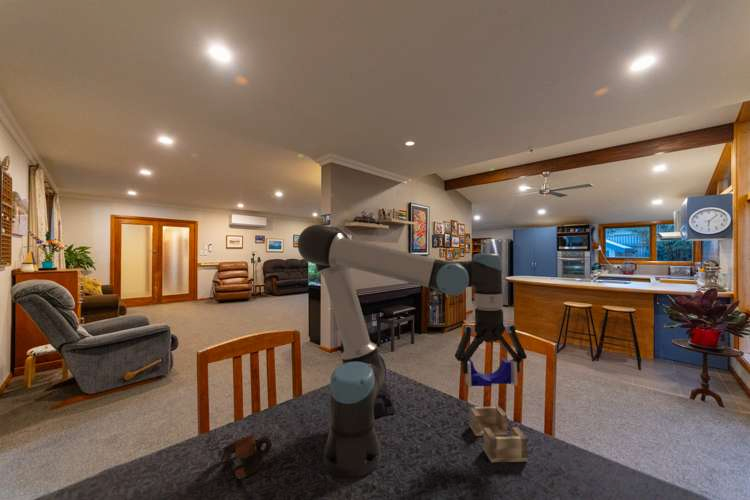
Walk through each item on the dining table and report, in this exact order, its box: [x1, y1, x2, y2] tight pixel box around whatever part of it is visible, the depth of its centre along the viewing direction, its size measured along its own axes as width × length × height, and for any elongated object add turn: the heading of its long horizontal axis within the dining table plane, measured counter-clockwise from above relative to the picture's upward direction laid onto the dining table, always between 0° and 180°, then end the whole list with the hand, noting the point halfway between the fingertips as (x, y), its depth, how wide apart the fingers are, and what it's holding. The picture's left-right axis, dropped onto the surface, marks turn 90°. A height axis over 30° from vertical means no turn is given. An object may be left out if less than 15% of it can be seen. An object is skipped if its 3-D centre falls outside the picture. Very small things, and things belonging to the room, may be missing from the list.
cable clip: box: [469, 358, 512, 387], centre depth 86 cm, size 12×4×6 cm, turn 86°
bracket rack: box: [469, 406, 528, 463], centre depth 85 cm, size 10×16×6 cm, turn 2°
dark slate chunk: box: [374, 382, 396, 418], centre depth 109 cm, size 15×22×5 cm
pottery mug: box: [220, 433, 273, 479], centre depth 77 cm, size 12×10×8 cm
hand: (491, 384), depth 84 cm, fingers closed on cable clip, 12 cm apart
